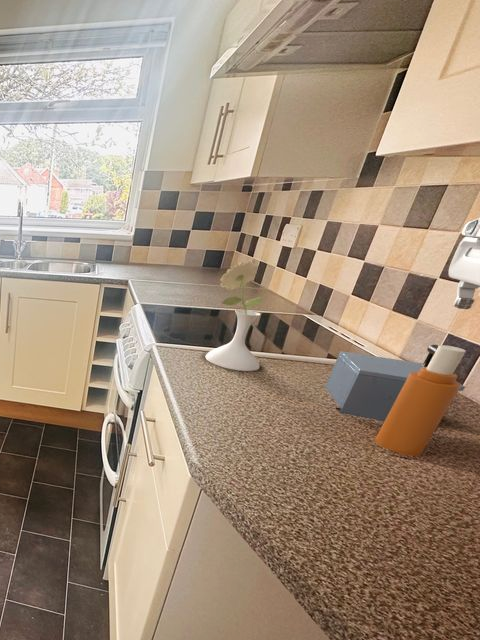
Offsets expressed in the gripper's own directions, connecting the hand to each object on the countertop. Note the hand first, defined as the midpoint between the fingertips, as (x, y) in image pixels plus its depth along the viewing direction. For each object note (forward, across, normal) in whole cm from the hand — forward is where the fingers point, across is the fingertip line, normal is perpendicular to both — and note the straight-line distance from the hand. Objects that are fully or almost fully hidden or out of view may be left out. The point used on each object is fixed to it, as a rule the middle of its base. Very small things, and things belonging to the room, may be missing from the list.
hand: (476, 314), depth 71 cm
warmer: (+21, 0, +7) cm, 22 cm away
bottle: (+20, -16, +9) cm, 27 cm away
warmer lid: (+12, 0, +7) cm, 13 cm away
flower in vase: (+20, +12, +32) cm, 39 cm away
